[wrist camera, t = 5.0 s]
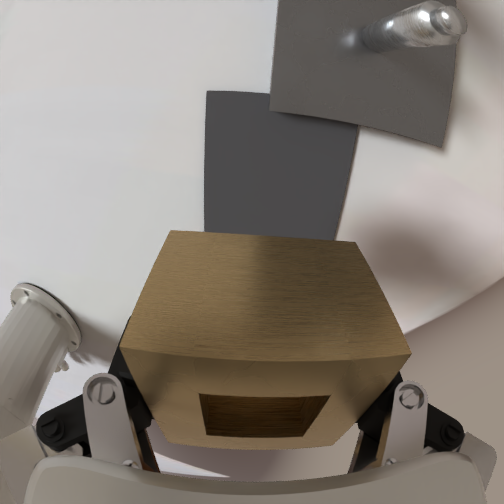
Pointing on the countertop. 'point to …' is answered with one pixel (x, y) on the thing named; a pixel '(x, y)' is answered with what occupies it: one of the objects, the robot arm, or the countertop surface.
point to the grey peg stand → (368, 63)
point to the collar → (260, 340)
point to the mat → (273, 168)
